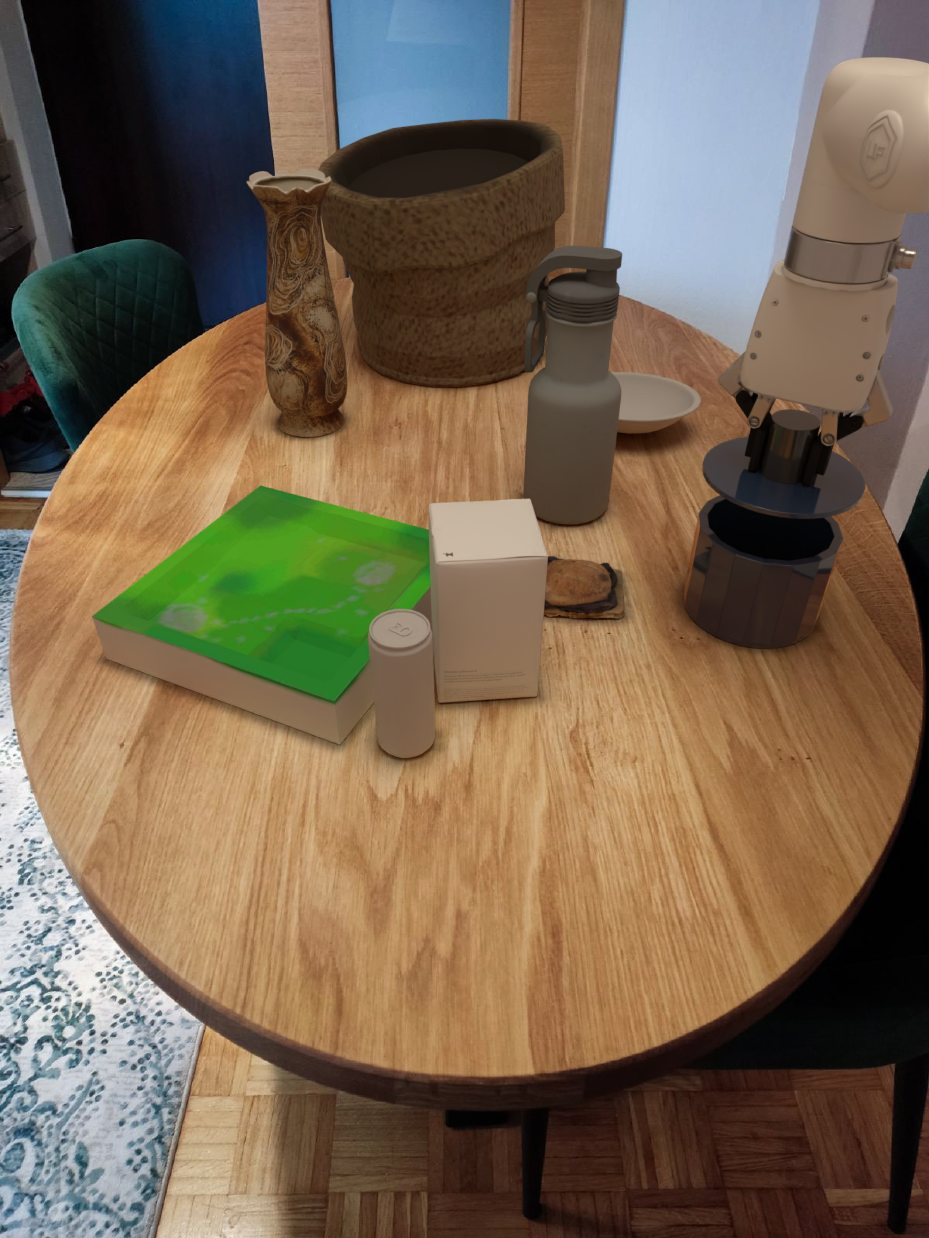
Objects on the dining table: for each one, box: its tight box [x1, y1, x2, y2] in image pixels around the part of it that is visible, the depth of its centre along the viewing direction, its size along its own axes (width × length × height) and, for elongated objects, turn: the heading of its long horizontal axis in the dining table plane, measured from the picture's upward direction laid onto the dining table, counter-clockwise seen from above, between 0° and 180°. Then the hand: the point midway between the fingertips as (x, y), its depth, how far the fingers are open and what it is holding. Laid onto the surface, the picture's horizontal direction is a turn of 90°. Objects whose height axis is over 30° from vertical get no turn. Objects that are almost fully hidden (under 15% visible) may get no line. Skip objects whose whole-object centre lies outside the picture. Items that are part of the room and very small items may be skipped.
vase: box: [245, 168, 348, 438], centre depth 108 cm, size 10×11×30 cm
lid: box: [701, 408, 866, 519], centre depth 76 cm, size 14×14×6 cm
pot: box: [317, 118, 566, 388], centre depth 128 cm, size 35×35×30 cm
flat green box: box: [91, 485, 432, 746], centre depth 83 cm, size 25×25×5 cm
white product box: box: [428, 498, 549, 703], centre depth 75 cm, size 9×9×15 cm
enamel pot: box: [683, 494, 844, 649], centre depth 83 cm, size 13×13×10 cm
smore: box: [544, 555, 626, 620], centre depth 87 cm, size 11×8×4 cm
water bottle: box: [522, 245, 623, 526], centre depth 92 cm, size 10×10×28 cm
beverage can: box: [368, 609, 436, 759], centre depth 69 cm, size 5×5×12 cm
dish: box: [610, 371, 702, 434], centre depth 114 cm, size 18×14×5 cm
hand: (783, 470), depth 77 cm, fingers closed on lid, 4 cm apart
